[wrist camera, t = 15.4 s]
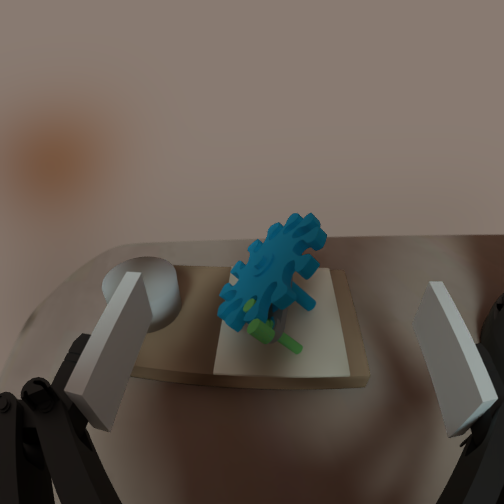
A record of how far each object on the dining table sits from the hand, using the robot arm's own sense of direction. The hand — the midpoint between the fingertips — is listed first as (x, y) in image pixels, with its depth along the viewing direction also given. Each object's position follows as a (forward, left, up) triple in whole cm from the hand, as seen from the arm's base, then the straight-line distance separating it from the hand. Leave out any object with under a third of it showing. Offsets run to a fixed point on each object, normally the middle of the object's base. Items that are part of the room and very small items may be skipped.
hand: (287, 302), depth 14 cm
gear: (+1, -8, -8) cm, 11 cm away
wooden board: (+4, -8, -10) cm, 13 cm away
